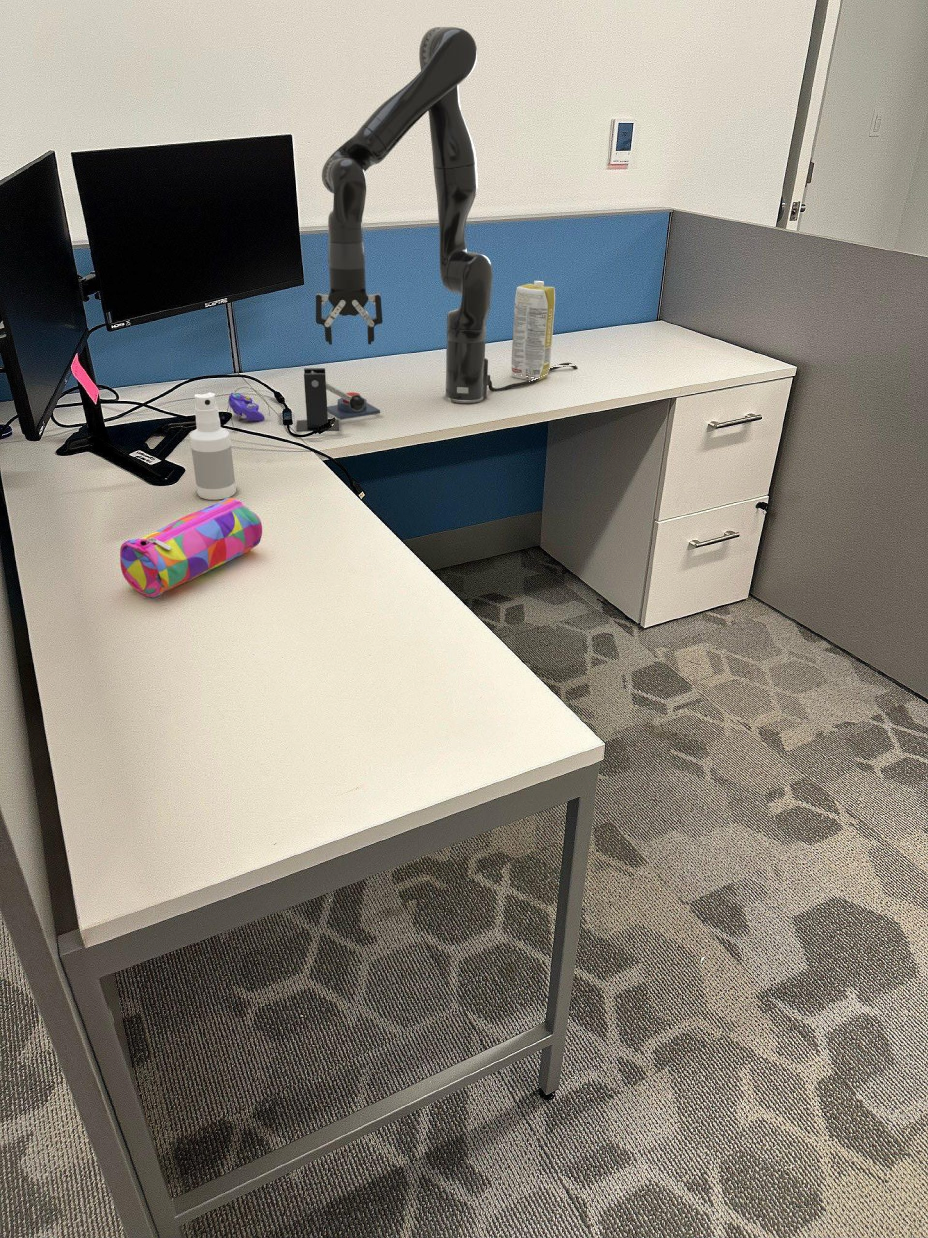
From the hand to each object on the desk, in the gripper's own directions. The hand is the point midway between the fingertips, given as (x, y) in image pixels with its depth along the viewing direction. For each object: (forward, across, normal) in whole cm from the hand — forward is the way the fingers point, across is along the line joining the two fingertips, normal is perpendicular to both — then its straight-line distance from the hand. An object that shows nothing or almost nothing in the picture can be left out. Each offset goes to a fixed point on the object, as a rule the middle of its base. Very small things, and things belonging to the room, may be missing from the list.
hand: (350, 343), depth 190 cm
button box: (+16, 0, 0) cm, 16 cm away
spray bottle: (+16, -26, -44) cm, 53 cm away
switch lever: (+9, -4, -10) cm, 14 cm away
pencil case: (+16, -26, -74) cm, 81 cm away
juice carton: (+16, +48, +30) cm, 59 cm away
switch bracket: (+16, -8, -10) cm, 20 cm away
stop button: (+13, 0, 0) cm, 13 cm away
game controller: (+16, -24, -4) cm, 30 cm away
